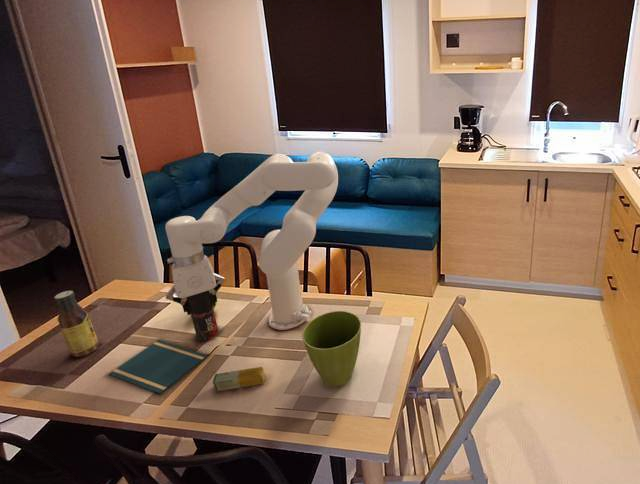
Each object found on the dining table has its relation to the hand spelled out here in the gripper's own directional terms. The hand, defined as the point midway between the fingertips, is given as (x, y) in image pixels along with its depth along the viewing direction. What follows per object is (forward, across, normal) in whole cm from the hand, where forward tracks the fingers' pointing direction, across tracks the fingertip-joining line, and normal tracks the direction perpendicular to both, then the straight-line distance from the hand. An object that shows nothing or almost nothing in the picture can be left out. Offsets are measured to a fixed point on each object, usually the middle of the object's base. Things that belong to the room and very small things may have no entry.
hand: (201, 308), depth 120 cm
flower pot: (+10, +27, -41) cm, 50 cm away
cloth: (+10, -13, -6) cm, 17 cm away
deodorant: (+10, 0, 0) cm, 10 cm away
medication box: (+10, +5, -28) cm, 30 cm away
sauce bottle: (+10, -30, +14) cm, 35 cm away
